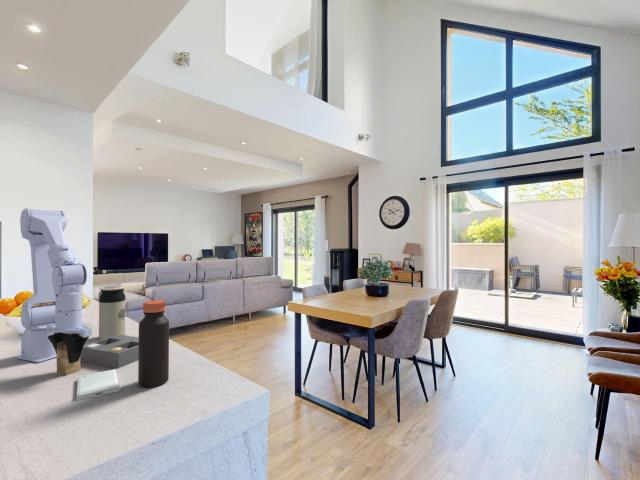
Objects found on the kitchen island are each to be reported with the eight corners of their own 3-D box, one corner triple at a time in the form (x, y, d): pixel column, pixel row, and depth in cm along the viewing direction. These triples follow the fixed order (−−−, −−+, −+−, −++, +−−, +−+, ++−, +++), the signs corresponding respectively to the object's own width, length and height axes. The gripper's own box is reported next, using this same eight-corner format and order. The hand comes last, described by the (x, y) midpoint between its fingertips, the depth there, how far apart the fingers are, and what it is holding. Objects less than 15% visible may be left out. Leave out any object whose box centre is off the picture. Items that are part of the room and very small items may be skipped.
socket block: (77, 360, 95) (78, 345, 95) (118, 346, 107) (118, 333, 107) (118, 367, 90) (118, 352, 90) (156, 352, 102) (156, 339, 102)
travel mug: (93, 339, 114) (93, 288, 114) (113, 333, 122) (114, 285, 122) (110, 341, 112) (111, 289, 112) (130, 335, 119) (130, 286, 119)
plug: (56, 373, 86) (56, 343, 86) (70, 368, 89) (71, 339, 89) (66, 375, 84) (66, 344, 84) (80, 370, 88) (80, 340, 88)
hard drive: (77, 376, 82) (76, 395, 72) (116, 368, 86) (120, 386, 76) (77, 382, 82) (76, 403, 72) (116, 375, 86) (120, 393, 76)
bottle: (169, 374, 85) (170, 298, 85) (167, 385, 79) (168, 303, 79) (140, 378, 83) (141, 300, 83) (135, 390, 77) (136, 305, 77)
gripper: (33, 310, 85) (33, 362, 85) (72, 315, 80) (71, 370, 81) (62, 305, 92) (62, 353, 92) (99, 309, 87) (99, 360, 87)
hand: (68, 360), depth 87 cm, fingers closed on plug, 4 cm apart
